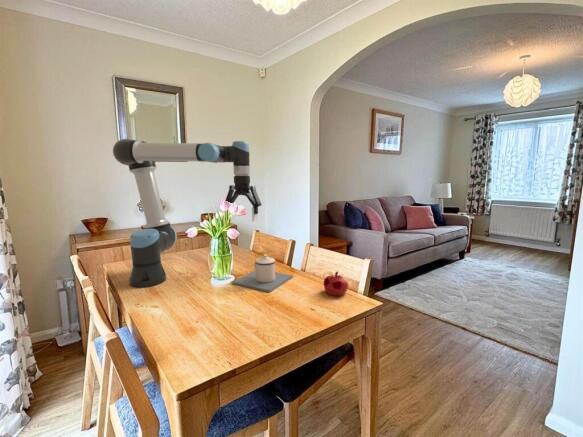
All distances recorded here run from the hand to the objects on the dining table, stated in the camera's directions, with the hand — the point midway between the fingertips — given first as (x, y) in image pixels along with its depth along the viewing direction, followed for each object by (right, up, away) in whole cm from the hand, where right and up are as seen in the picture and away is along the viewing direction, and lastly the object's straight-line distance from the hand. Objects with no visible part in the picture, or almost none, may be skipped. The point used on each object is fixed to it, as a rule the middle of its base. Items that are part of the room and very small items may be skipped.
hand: (243, 219), depth 142 cm
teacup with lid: (+10, -27, -6) cm, 30 cm away
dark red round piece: (+42, -30, -19) cm, 55 cm away
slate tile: (+10, -28, -6) cm, 30 cm away
